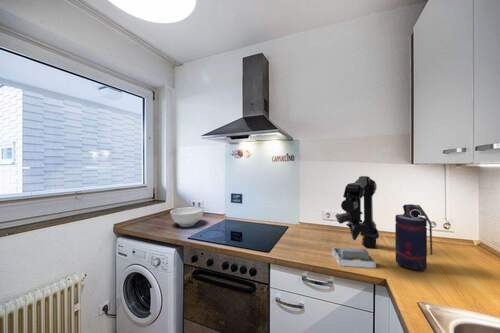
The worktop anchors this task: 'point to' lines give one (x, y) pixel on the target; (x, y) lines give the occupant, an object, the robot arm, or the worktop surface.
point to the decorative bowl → (187, 215)
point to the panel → (354, 254)
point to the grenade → (412, 238)
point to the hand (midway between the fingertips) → (354, 239)
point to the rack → (354, 262)
